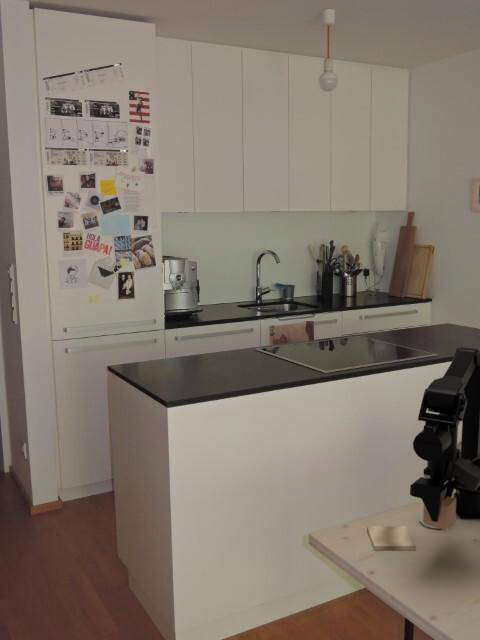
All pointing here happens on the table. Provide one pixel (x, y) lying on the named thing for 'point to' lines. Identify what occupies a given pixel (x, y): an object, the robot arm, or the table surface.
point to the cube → (442, 514)
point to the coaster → (390, 538)
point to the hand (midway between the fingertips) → (439, 516)
